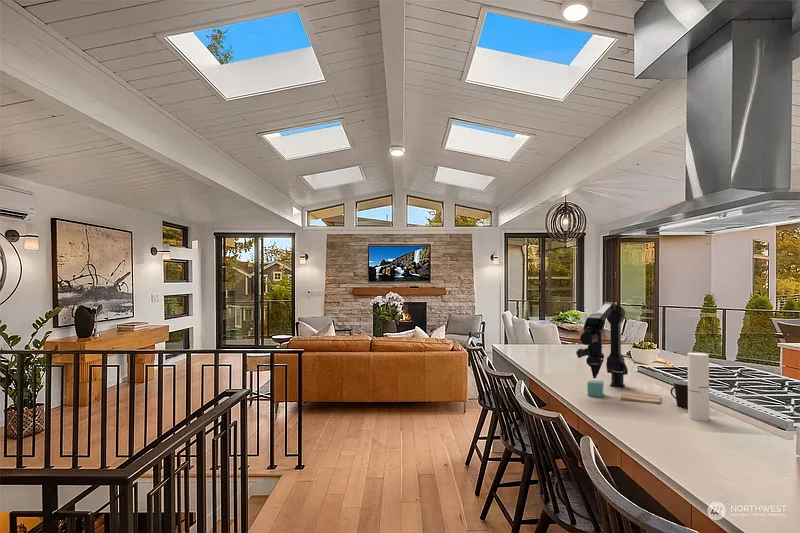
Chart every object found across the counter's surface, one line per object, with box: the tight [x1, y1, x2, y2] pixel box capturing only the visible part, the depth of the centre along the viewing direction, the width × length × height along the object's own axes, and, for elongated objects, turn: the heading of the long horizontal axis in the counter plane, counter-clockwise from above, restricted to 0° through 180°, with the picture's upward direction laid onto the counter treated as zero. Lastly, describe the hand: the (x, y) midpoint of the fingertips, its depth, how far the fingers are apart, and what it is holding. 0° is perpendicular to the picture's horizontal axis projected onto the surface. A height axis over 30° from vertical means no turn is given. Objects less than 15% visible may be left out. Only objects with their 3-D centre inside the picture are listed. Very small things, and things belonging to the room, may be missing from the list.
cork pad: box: [619, 391, 662, 405], centre depth 232 cm, size 14×16×1 cm
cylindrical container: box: [687, 352, 710, 422], centre depth 201 cm, size 7×7×25 cm
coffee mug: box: [670, 380, 688, 410], centre depth 218 cm, size 12×9×10 cm
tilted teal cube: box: [587, 379, 604, 398], centre depth 240 cm, size 6×6×6 cm
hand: (595, 376), depth 240 cm, fingers open, 9 cm apart
